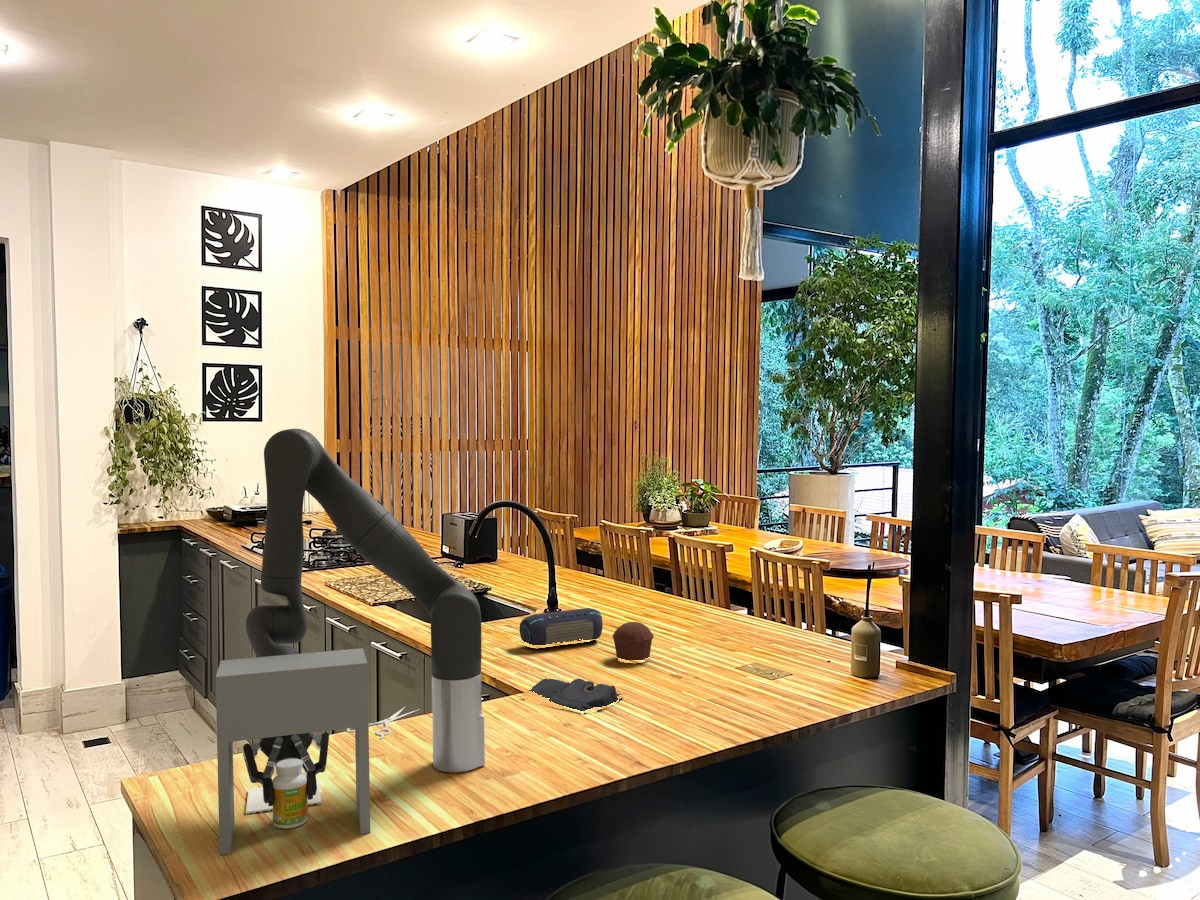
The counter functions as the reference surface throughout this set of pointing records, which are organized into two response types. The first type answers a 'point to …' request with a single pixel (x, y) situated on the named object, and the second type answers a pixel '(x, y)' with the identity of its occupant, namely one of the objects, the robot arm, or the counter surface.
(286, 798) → the supplement bottle
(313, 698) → the grey rectangular arch
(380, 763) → the counter surface
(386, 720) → the scissors
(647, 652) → the muffin
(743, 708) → the counter surface
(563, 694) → the crumpled dark grey cloth
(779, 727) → the counter surface
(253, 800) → the white flat rectangular board
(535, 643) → the portable speaker
